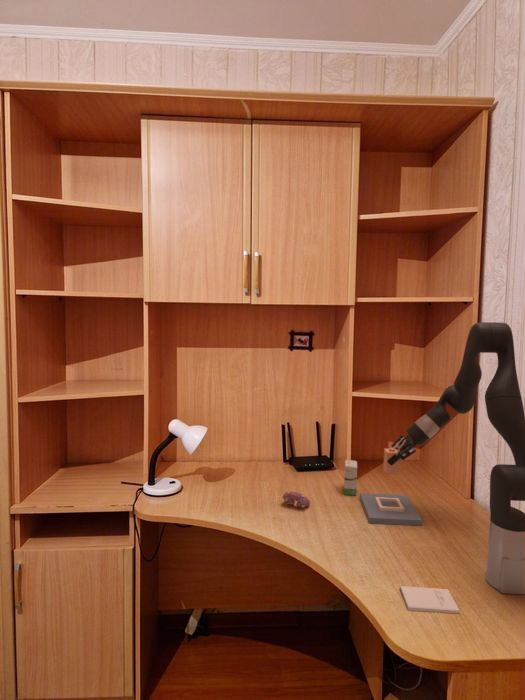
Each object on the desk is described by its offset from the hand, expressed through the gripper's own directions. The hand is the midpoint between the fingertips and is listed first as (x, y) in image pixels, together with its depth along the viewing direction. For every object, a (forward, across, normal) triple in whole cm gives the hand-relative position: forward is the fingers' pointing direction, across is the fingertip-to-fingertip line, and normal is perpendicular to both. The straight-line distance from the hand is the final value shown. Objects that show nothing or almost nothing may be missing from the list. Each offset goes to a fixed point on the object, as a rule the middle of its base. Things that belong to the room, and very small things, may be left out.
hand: (387, 460), depth 156 cm
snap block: (+2, 0, +4) cm, 4 cm away
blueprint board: (+13, 0, +14) cm, 19 cm away
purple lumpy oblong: (+37, -1, -10) cm, 38 cm away
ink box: (+21, -16, +6) cm, 27 cm away
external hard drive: (+14, +49, +14) cm, 53 cm away
